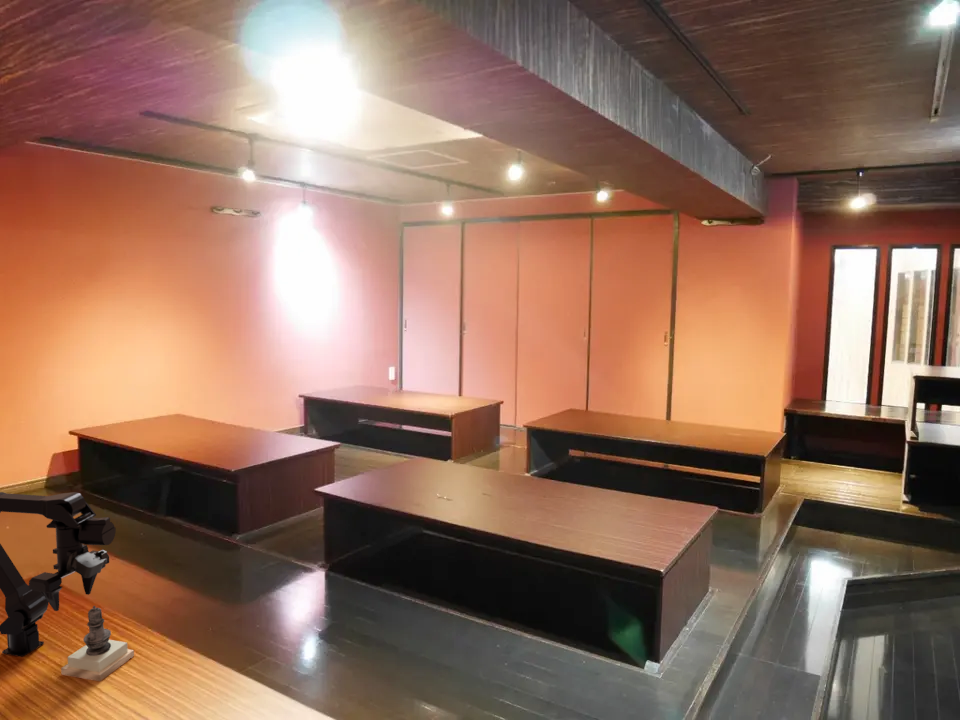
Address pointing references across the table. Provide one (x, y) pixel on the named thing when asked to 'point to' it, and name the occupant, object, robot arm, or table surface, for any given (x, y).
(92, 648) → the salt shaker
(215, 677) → the table surface
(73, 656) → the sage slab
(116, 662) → the birch slab
